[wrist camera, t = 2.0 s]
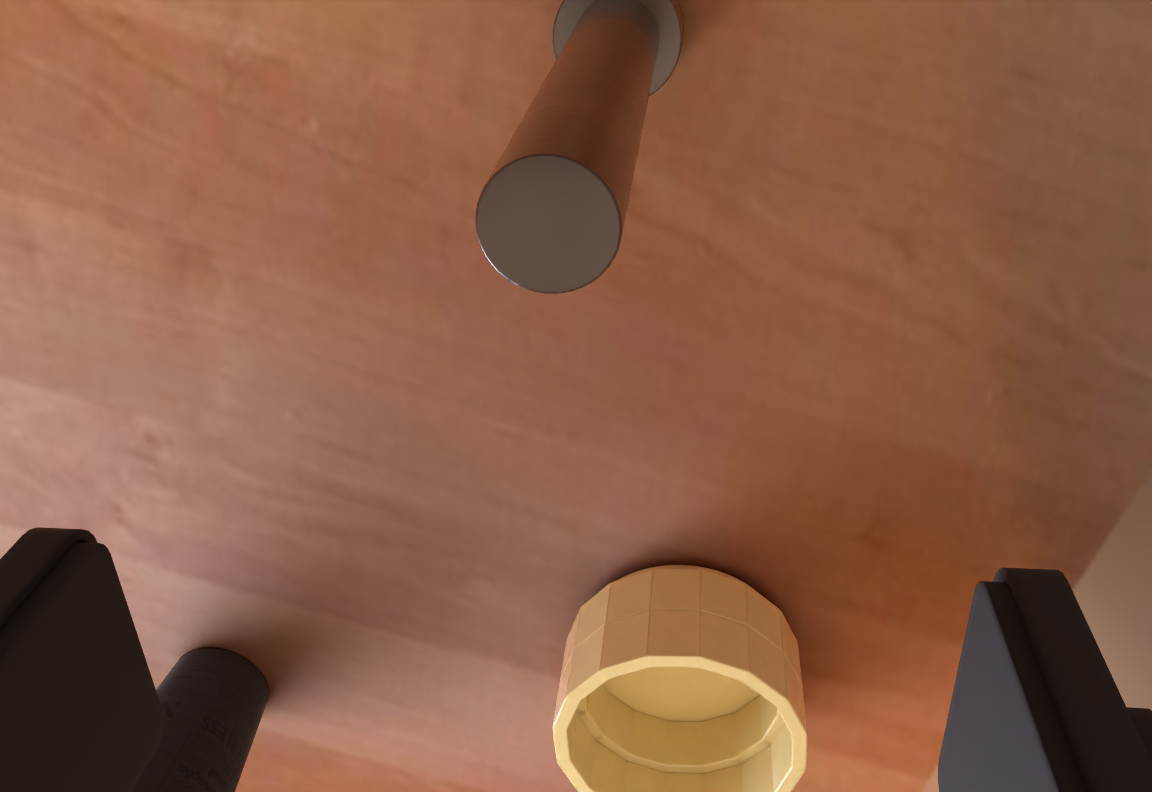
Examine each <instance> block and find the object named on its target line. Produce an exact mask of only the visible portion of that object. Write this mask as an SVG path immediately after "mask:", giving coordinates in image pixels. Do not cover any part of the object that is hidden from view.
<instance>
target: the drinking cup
mask: <svg viewBox="0 0 1152 792" xmlns="http://www.w3.org/2000/svg"><path fill="white" fill-rule="evenodd" d="M156 692H157V695H158V699H159V702H160V705H161V708H162V711H163V716H164V727H163V733H162V737H161V740H160V743H159V745H158V747H157V749H156V751H155V752H154V754H153V756H152V758H151V759H150V761H149V763H148V765H147V766H146V768H145V770H144V772H143V773H142V775H141V777H140V779H139V780H138V782H137V784H136V786H135V787H134V789H133V791H132V792H235V790H236V787H237V784H238V781H239V779H240V776H241V773H242V770H243V767H244V765H245V762H246V759H247V756H248V754H249V751H250V748H251V745H252V742H253V740H254V737H255V734H256V731H257V728H258V726H259V723H260V720H261V717H262V714H263V712H264V709H265V706H266V703H267V700H268V695H269V691H268V686H267V683H266V680H265V678H264V677H263V675H262V674H261V672H260V671H259V670H258V669H257V668H256V667H255V666H254V665H253V664H252V663H250V662H249V661H248V660H246V659H244V658H243V657H241V656H239V655H237V654H235V653H232V652H229V651H226V650H222V649H216V648H202V649H197V650H193V651H191V652H189V653H187V654H185V655H184V656H182V657H181V658H180V659H179V661H178V662H177V663H176V665H175V666H174V667H173V669H172V670H171V671H170V672H169V674H168V675H167V676H166V678H165V679H164V680H163V682H162V683H161V684H160V686H159V687H158V688H157V690H156Z"/></svg>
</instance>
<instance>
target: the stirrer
mask: <svg viewBox="0 0 1152 792" xmlns="http://www.w3.org/2000/svg"><path fill="white" fill-rule="evenodd" d="M682 34H683V18H682V12H681V7H680V4H679V2H678V0H564V1H563V2H562V4H561V6H560V8H559V10H558V13H557V15H556V18H555V23H554V29H553V46H554V52H555V56H556V59H557V60H556V61H555V63H554V65H553V67H552V68H551V70H550V72H549V74H548V75H547V77H546V79H545V81H544V83H543V84H542V86H541V88H540V90H539V91H538V93H537V95H536V97H535V98H534V100H533V102H532V104H531V105H530V107H529V109H528V111H527V112H526V114H525V116H524V118H523V119H522V121H521V123H520V125H519V127H518V128H517V130H516V132H515V134H514V135H513V137H512V139H511V141H510V142H509V144H508V146H507V148H506V149H505V151H504V153H503V155H502V156H501V158H500V160H499V162H498V163H497V165H496V167H495V169H494V171H493V172H492V174H491V176H490V178H489V179H488V181H487V183H486V185H485V186H484V188H483V190H482V192H481V194H480V197H479V200H478V203H477V208H476V219H475V221H476V231H477V236H478V240H479V242H480V245H481V248H482V250H483V252H484V254H485V255H486V257H487V258H488V260H489V261H490V263H491V264H492V265H493V266H494V268H495V269H496V270H497V271H498V272H499V273H500V274H502V275H503V276H504V277H505V278H507V279H508V280H509V281H511V282H513V283H514V284H516V285H518V286H520V287H523V288H525V289H528V290H531V291H535V292H540V293H550V294H557V293H565V292H570V291H574V290H577V289H580V288H582V287H584V286H586V285H588V284H590V283H592V282H593V281H594V280H596V279H597V278H599V277H600V276H601V275H602V274H603V273H604V272H605V271H606V270H607V268H608V267H609V266H610V264H611V263H612V261H613V260H614V258H615V256H616V254H617V251H618V249H619V245H620V242H621V237H622V232H623V227H624V222H625V216H626V211H627V206H628V201H629V196H630V190H631V185H632V180H633V175H634V170H635V165H636V159H637V154H638V149H639V144H640V139H641V134H642V128H643V123H644V118H645V113H646V108H647V103H648V97H649V96H650V95H651V94H653V93H654V92H655V91H657V90H658V89H659V88H660V87H661V86H662V85H663V84H664V83H665V82H666V81H667V80H668V78H669V77H670V75H671V74H672V72H673V70H674V69H675V66H676V64H677V62H678V58H679V55H680V51H681V44H682Z"/></svg>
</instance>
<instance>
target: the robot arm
mask: <svg viewBox="0 0 1152 792" xmlns="http://www.w3.org/2000/svg"><path fill="white" fill-rule="evenodd" d="M163 727H164V716H163V711H162V708H161V705H160V702H159V699H158V695H157V692H156V689H155V686H154V683H153V680H152V677H151V674H150V671H149V668H148V665H147V662H146V659H145V656H144V653H143V650H142V647H141V644H140V641H139V638H138V635H137V632H136V629H135V626H134V623H133V620H132V617H131V614H130V611H129V608H128V605H127V602H126V599H125V596H124V593H123V590H122V587H121V584H120V581H119V578H118V575H117V572H116V569H115V566H114V563H113V560H112V557H111V554H110V552H109V550H108V548H107V547H106V546H105V545H104V544H100V543H97V541H96V539H95V537H94V535H92V534H91V533H90V532H89V531H87V530H82V529H60V528H34V529H31V530H29V531H27V532H26V533H25V534H24V535H22V536H21V538H20V539H19V540H18V541H17V542H16V543H15V544H14V545H13V546H12V547H11V548H10V549H9V551H8V552H7V553H6V554H5V555H4V556H3V557H2V558H1V559H0V792H132V791H133V789H134V787H135V786H136V784H137V782H138V780H139V779H140V777H141V775H142V773H143V772H144V770H145V768H146V766H147V765H148V763H149V761H150V759H151V758H152V756H153V754H154V752H155V751H156V749H157V747H158V745H159V743H160V740H161V737H162V733H163ZM938 784H939V792H1152V711H1151V710H1150V709H1144V708H1128V707H1126V706H1125V703H1124V701H1123V699H1122V697H1121V695H1120V693H1119V691H1118V688H1117V686H1116V684H1115V682H1114V680H1113V678H1112V676H1111V673H1110V671H1109V669H1108V667H1107V665H1106V662H1105V660H1104V658H1103V656H1102V654H1101V652H1100V650H1099V647H1098V645H1097V643H1096V641H1095V639H1094V637H1093V634H1092V632H1091V630H1090V628H1089V626H1088V624H1087V622H1086V619H1085V617H1084V615H1083V613H1082V611H1081V609H1080V606H1079V605H1078V602H1077V600H1076V598H1075V596H1074V594H1073V591H1072V589H1071V587H1070V585H1069V583H1068V581H1067V579H1066V577H1065V576H1064V574H1063V573H1062V572H1060V571H1059V570H1046V569H1022V568H1001V569H999V570H998V571H997V573H996V574H995V578H994V581H993V582H988V581H980V582H978V584H977V585H976V588H975V591H974V596H973V601H972V605H971V610H970V615H969V620H968V624H967V629H966V634H965V639H964V643H963V648H962V653H961V658H960V662H959V667H958V672H957V677H956V681H955V686H954V691H953V696H952V700H951V705H950V710H949V715H948V719H947V724H946V729H945V734H944V738H943V743H942V748H941V753H940V757H939V764H938Z"/></svg>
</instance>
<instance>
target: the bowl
mask: <svg viewBox="0 0 1152 792" xmlns="http://www.w3.org/2000/svg"><path fill="white" fill-rule="evenodd" d="M552 730H553V737H554V744H555V751H556V759H557V763H558V764H559V766H560V767H561V768H562V770H563V771H564V773H565V774H566V775H567V777H568V778H569V780H570V781H571V782H572V784H573V785H574V786H575V788H576V789H577V791H578V792H791V791H792V790H793V788H794V787H795V785H796V784H797V782H798V781H799V779H800V778H801V776H802V775H803V773H804V772H805V770H806V766H807V739H808V733H807V724H806V715H805V705H804V696H803V688H802V677H801V668H800V659H799V649H798V642H797V640H796V638H795V636H794V634H793V632H792V630H791V628H790V627H789V625H788V623H787V621H786V619H785V617H784V615H783V613H782V612H781V610H780V609H779V608H777V607H776V606H775V605H774V604H772V603H771V602H770V601H768V600H767V599H766V598H764V597H763V596H762V595H761V594H759V593H758V592H757V591H756V590H755V589H753V588H752V587H750V586H749V585H747V584H746V583H744V582H743V581H741V580H739V579H737V578H735V577H733V576H731V575H728V574H725V573H723V572H720V571H717V570H713V569H709V568H705V567H698V566H692V565H664V566H657V567H651V568H647V569H643V570H639V571H636V572H634V573H631V574H629V575H626V576H624V577H622V578H620V579H618V580H617V581H614V582H612V583H609V584H608V585H607V586H606V587H604V588H603V589H602V590H601V591H600V592H598V593H597V594H596V595H595V596H594V597H592V598H591V599H590V600H589V601H587V602H586V603H585V604H584V605H583V606H581V608H580V610H579V612H578V614H577V617H576V619H575V621H574V624H573V626H572V628H571V631H570V633H569V635H568V637H567V642H566V648H565V654H564V660H563V666H562V672H561V678H560V684H559V690H558V696H557V702H556V708H555V714H554V720H553V726H552Z"/></svg>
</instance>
